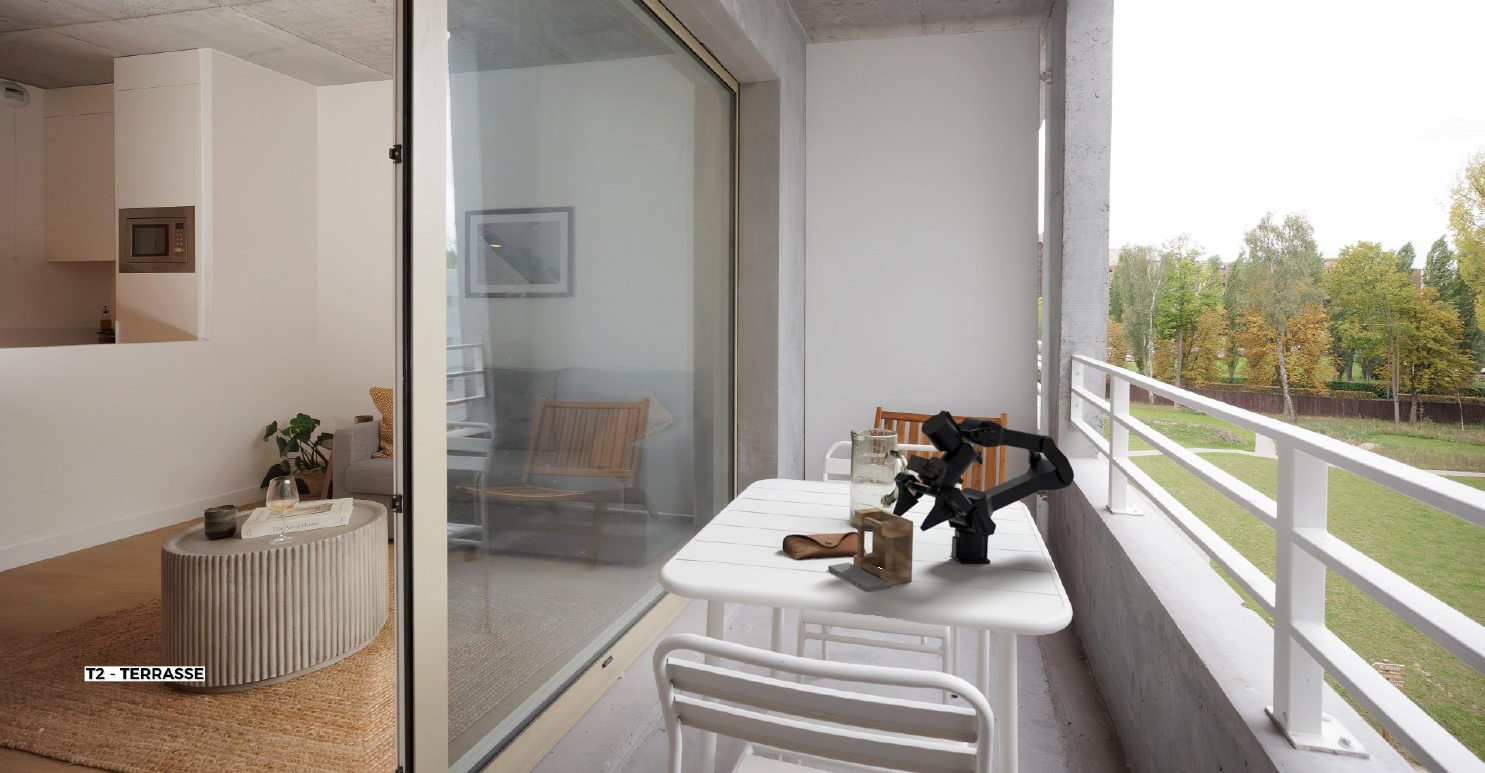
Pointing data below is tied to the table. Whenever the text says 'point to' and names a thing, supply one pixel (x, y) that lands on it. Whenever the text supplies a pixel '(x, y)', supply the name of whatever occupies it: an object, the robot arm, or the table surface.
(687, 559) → the table surface
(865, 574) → the strip
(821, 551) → the sunglasses case
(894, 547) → the wood grain block
